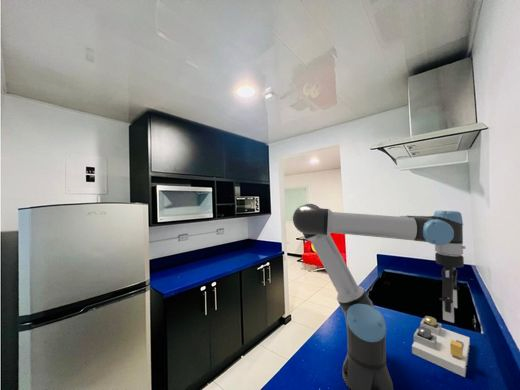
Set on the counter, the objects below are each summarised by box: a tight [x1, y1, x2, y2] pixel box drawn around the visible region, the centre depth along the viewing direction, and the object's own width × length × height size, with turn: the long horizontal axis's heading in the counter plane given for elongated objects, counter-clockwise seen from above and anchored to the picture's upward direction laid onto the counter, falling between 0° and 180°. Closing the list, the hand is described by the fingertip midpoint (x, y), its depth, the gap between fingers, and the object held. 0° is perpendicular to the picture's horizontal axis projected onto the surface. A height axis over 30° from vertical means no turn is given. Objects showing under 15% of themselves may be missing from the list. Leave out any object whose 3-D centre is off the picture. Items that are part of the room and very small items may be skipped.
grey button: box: [418, 326, 431, 340], centre depth 85 cm, size 4×4×3 cm
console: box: [411, 317, 471, 378], centre depth 85 cm, size 24×15×6 cm, turn 132°
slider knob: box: [450, 340, 463, 359], centre depth 77 cm, size 3×3×4 cm
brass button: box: [424, 315, 438, 328], centre depth 93 cm, size 4×4×3 cm
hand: (450, 313), depth 74 cm, fingers open, 13 cm apart
